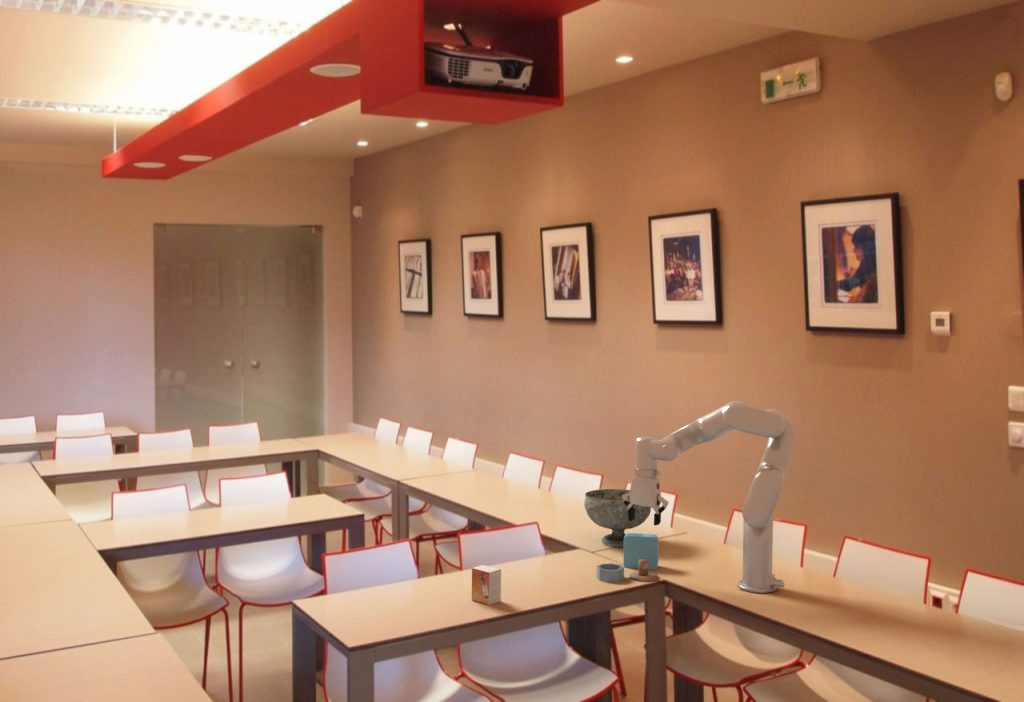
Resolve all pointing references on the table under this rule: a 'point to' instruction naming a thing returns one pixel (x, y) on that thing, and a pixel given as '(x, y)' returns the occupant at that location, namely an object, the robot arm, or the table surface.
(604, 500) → the decorative bowl
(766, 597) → the table surface
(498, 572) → the small box
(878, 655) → the table surface
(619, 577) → the bowl
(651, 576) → the lid
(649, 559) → the data package
